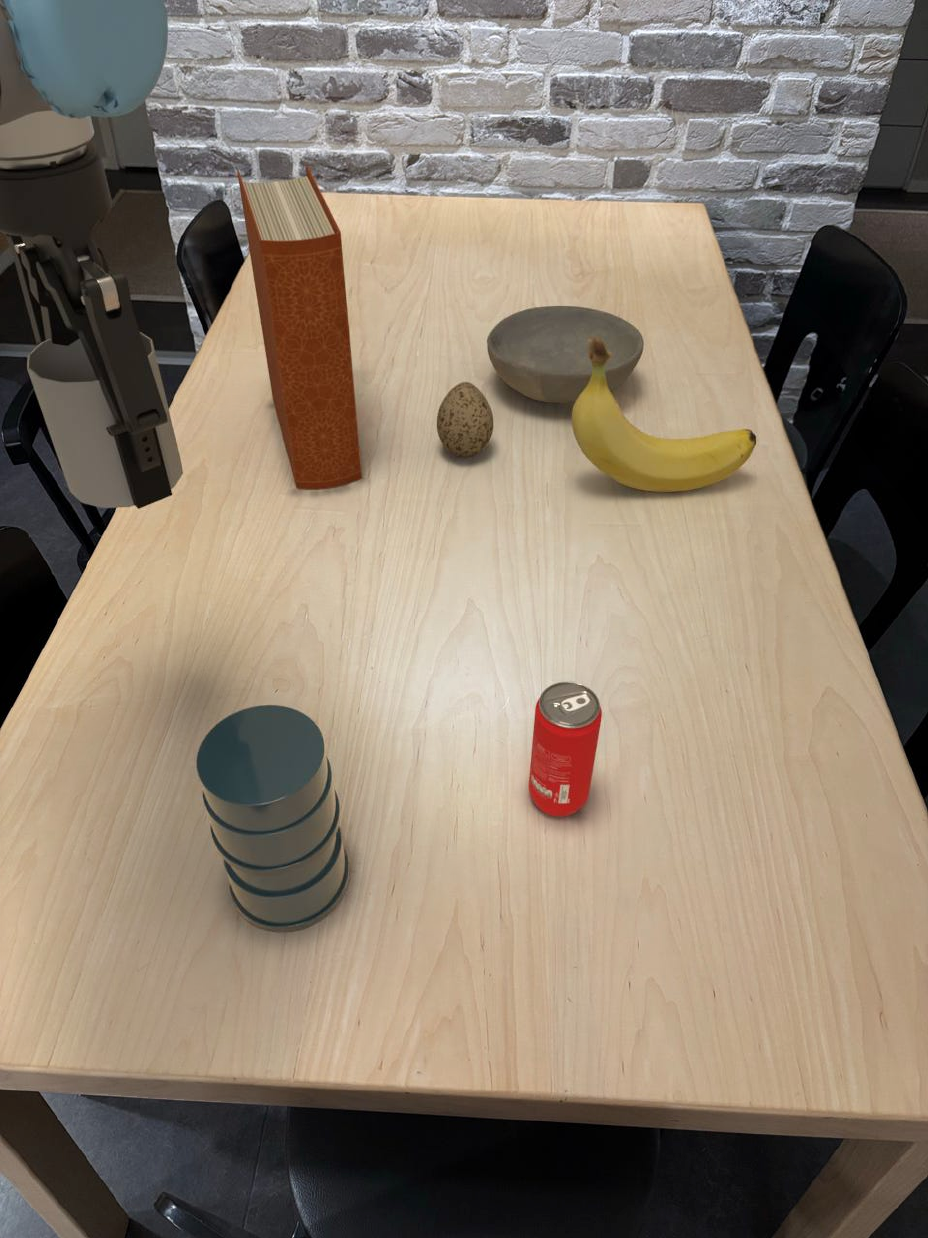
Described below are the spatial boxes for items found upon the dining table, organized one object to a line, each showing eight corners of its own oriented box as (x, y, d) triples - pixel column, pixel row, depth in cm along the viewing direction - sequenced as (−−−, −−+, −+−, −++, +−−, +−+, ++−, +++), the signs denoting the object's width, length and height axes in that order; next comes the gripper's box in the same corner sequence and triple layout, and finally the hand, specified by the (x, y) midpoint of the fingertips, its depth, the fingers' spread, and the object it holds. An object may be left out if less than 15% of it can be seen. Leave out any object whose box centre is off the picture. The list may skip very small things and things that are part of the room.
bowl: (544, 444, 119) (549, 389, 113) (457, 377, 131) (457, 325, 126) (666, 399, 127) (675, 346, 122) (573, 340, 140) (578, 290, 134)
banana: (737, 467, 115) (775, 317, 101) (752, 494, 111) (794, 341, 97) (561, 477, 113) (575, 325, 100) (569, 505, 109) (586, 350, 95)
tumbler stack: (270, 956, 68) (234, 836, 57) (209, 870, 73) (165, 745, 62) (372, 884, 72) (357, 759, 61) (308, 808, 78) (283, 680, 67)
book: (272, 399, 127) (237, 170, 106) (331, 391, 128) (307, 164, 108) (297, 493, 111) (261, 244, 90) (363, 482, 112) (342, 236, 92)
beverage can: (517, 783, 80) (524, 691, 71) (569, 763, 81) (582, 671, 73) (545, 829, 76) (556, 738, 68) (599, 808, 78) (615, 716, 70)
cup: (50, 473, 69) (6, 351, 63) (147, 434, 74) (116, 315, 67) (103, 522, 65) (62, 396, 58) (203, 477, 69) (176, 355, 62)
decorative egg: (501, 461, 116) (504, 391, 109) (448, 473, 114) (448, 402, 107) (479, 433, 121) (481, 364, 114) (429, 444, 119) (427, 374, 112)
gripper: (175, 181, 50) (241, 517, 65) (25, 100, 61) (110, 401, 77) (39, 212, 46) (143, 560, 61) (-93, 120, 58) (22, 431, 73)
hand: (125, 472), depth 69 cm, fingers closed on cup, 8 cm apart
